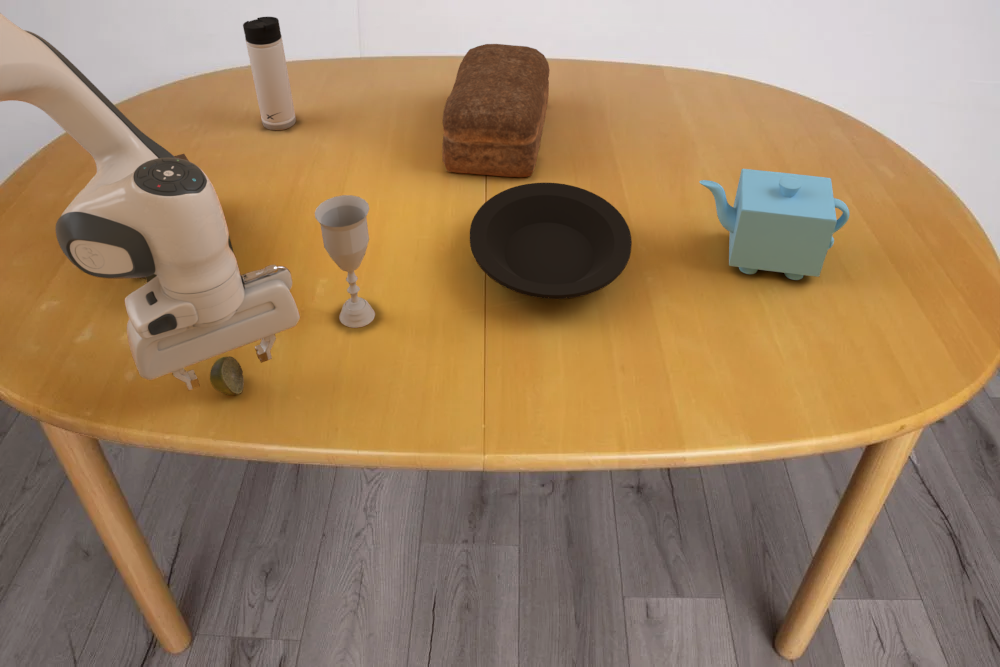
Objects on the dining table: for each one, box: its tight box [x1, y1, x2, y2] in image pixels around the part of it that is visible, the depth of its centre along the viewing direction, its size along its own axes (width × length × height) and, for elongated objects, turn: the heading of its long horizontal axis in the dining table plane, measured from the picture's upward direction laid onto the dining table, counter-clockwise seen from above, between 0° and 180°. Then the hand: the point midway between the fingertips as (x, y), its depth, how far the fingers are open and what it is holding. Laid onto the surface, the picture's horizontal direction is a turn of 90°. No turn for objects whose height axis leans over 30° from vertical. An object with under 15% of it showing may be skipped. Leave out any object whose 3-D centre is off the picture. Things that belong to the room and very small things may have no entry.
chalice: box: [314, 194, 376, 329], centre depth 118 cm, size 7×7×18 cm
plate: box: [469, 182, 633, 300], centre depth 131 cm, size 28×24×6 cm
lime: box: [209, 356, 245, 396], centre depth 112 cm, size 4×5×5 cm
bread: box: [441, 43, 551, 178], centre depth 157 cm, size 17×30×13 cm, turn 172°
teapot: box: [699, 168, 851, 281], centre depth 130 cm, size 22×11×14 cm, turn 78°
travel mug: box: [242, 16, 297, 131], centre depth 158 cm, size 6×7×20 cm
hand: (229, 371), depth 112 cm, fingers open, 8 cm apart
